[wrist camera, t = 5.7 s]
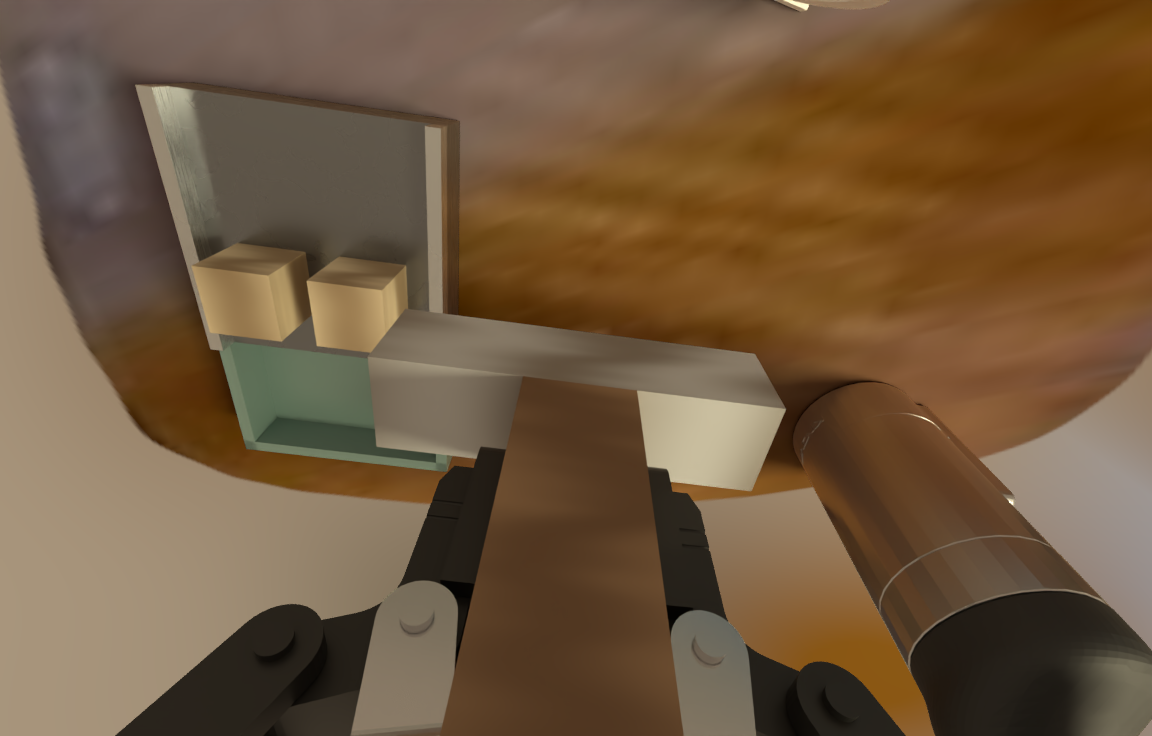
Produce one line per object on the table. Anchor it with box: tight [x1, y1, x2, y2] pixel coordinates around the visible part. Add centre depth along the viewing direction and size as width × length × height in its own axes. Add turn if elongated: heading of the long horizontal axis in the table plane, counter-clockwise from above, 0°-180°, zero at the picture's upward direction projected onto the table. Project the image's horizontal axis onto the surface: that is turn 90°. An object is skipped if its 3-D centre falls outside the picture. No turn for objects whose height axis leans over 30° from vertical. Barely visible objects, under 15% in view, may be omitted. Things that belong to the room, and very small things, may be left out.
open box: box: [135, 83, 460, 359], centre depth 31 cm, size 15×15×4 cm
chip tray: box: [219, 342, 452, 472], centre depth 37 cm, size 15×9×4 cm, turn 83°
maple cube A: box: [307, 256, 408, 353], centre depth 29 cm, size 4×4×4 cm
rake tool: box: [368, 309, 786, 736], centre depth 11 cm, size 11×3×12 cm, turn 83°
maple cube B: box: [192, 243, 312, 342], centre depth 29 cm, size 4×4×4 cm
